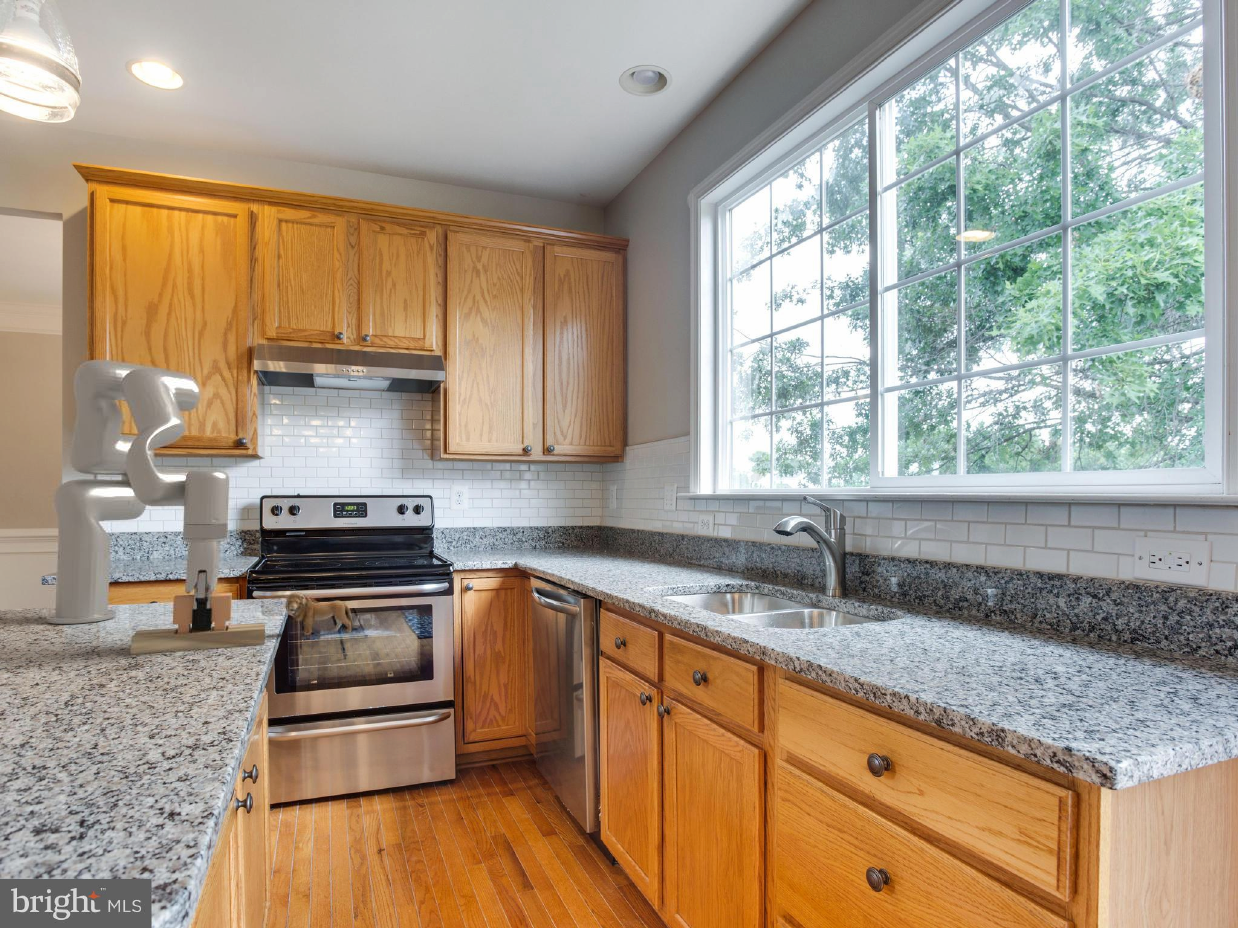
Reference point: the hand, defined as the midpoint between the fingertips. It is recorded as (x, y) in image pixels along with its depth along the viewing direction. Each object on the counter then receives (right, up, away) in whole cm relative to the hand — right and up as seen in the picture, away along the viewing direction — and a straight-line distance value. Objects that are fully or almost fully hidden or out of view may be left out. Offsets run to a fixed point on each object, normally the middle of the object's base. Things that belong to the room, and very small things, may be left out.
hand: (202, 626), depth 138 cm
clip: (0, -2, 0) cm, 2 cm away
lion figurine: (+17, -5, +13) cm, 22 cm away
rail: (0, -4, 0) cm, 4 cm away
